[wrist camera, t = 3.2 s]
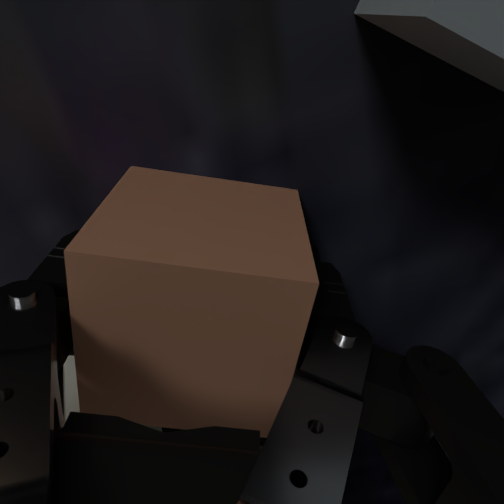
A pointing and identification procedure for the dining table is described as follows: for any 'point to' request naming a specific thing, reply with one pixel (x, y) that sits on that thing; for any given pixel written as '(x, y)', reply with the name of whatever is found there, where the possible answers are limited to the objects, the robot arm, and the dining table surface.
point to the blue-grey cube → (447, 31)
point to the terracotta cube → (190, 301)
